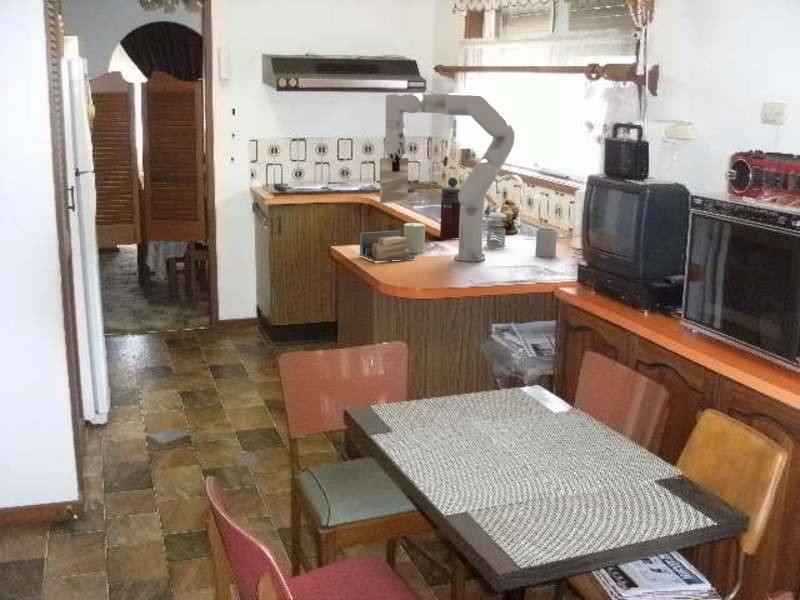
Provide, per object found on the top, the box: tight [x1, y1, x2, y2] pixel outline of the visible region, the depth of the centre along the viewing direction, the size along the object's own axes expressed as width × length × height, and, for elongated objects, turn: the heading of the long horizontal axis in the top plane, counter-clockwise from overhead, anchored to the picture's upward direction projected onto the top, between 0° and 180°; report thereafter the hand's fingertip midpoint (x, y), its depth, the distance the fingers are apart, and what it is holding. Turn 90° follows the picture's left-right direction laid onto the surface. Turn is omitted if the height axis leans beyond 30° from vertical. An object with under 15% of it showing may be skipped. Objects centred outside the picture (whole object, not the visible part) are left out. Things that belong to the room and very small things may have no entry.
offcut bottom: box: [372, 249, 411, 259], centre depth 362 cm, size 6×14×2 cm, turn 118°
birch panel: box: [379, 157, 409, 204], centre depth 366 cm, size 2×12×18 cm, turn 119°
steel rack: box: [359, 229, 416, 261], centre depth 364 cm, size 14×18×10 cm
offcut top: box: [378, 236, 406, 246], centre depth 361 cm, size 5×10×2 cm, turn 126°
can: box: [403, 222, 426, 254], centre depth 381 cm, size 9×9×12 cm
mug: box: [534, 228, 558, 258], centre depth 380 cm, size 12×8×11 cm
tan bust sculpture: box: [493, 197, 519, 236], centre depth 435 cm, size 18×12×17 cm, turn 176°
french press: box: [482, 189, 507, 249], centre depth 395 cm, size 10×12×25 cm
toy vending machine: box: [439, 176, 462, 240], centre depth 414 cm, size 9×11×28 cm
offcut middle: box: [373, 244, 406, 252], centre depth 361 cm, size 6×12×2 cm, turn 118°
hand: (394, 170), depth 365 cm, fingers closed on birch panel, 2 cm apart
